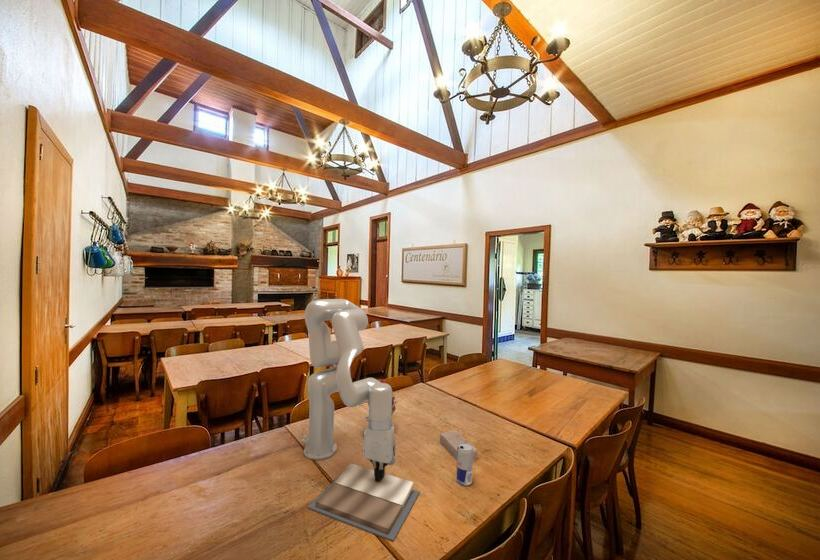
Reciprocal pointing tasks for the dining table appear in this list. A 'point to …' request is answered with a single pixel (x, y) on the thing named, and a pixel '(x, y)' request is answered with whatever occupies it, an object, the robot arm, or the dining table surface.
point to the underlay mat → (390, 536)
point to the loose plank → (376, 484)
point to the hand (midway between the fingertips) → (379, 479)
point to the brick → (454, 443)
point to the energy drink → (464, 464)
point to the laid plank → (360, 507)
